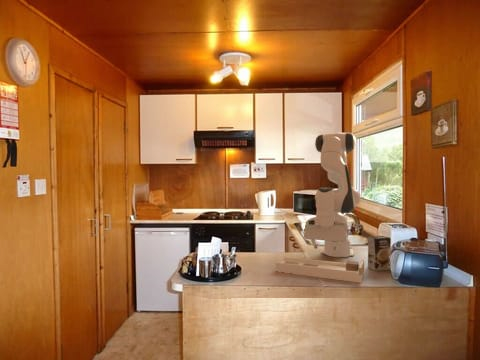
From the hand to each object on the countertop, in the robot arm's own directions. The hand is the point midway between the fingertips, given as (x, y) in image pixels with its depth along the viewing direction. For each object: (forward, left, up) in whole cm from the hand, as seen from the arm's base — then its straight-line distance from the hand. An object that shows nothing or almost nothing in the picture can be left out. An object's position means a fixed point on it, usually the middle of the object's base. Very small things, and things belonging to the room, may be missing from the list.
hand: (325, 249), depth 163 cm
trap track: (+1, -3, -12) cm, 12 cm away
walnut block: (+1, +13, -9) cm, 15 cm away
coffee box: (-19, +23, -12) cm, 32 cm away
